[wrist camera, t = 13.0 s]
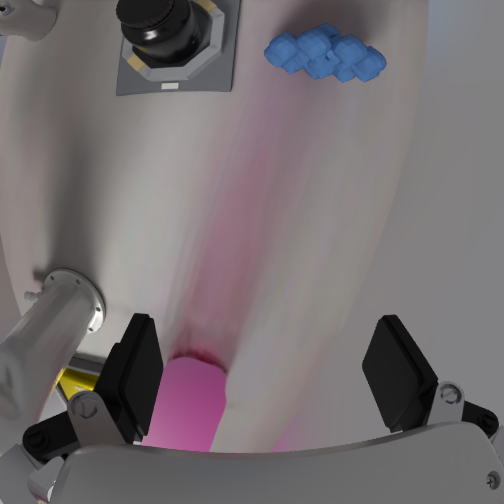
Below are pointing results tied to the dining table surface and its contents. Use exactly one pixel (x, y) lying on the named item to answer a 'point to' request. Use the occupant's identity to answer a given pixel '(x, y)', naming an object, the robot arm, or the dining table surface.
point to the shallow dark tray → (82, 367)
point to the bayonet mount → (193, 68)
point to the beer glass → (26, 19)
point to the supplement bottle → (160, 28)
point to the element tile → (76, 382)
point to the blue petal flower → (325, 54)
